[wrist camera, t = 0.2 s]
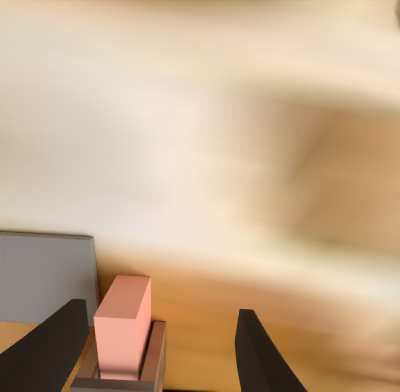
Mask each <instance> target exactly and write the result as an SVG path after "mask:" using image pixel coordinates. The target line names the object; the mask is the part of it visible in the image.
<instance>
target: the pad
mask: <svg viewBox="0 0 400 392" xmlns="http://www.w3.org/2000/svg"><path fill="white" fill-rule="evenodd" d="M71 299H86V307H87V316H88V324H89V326H90V327H95V325H94V315H95V313H96V311H97V310H98V308H99V306H100V297H99V287H98V277H97V267H96V258H95V248H94V238H93V237H85V236H68V235H51V234H34V233H17V232H0V320H1V322H18V323H36V324H41V323H42V322H44V321H45V320H46V319H47V318H49V317H50V316H51V315H52V314H54V313H55V312H56V311H57V310H59V309H60V308H61V307H62V306H64V305H65V304H66V303H67V302H69V301H70V300H71Z"/></svg>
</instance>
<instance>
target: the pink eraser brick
mask: <svg viewBox="0 0 400 392" xmlns="http://www.w3.org/2000/svg"><path fill="white" fill-rule="evenodd" d="M94 325H95V334H96V342H97V351H98V359H99V368H100V376H101V379H117V380H136V381H140V380H141V375H142V371H143V367H144V363H145V359H146V355H147V351H148V347H149V342H150V338H151V290H150V277H146V276H129V275H117V276H116V278H115V280H114V281H113V283H112V285H111V287H110V288H109V290H108V292H107V294H106V295H105V297H104V299H103V301H102V303H101V304H100V306H99V308H98V310H97V311H96V313H95V315H94Z"/></svg>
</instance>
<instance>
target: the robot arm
mask: <svg viewBox="0 0 400 392" xmlns="http://www.w3.org/2000/svg"><path fill="white" fill-rule="evenodd" d="M88 335H89V324H88V316H87V307H86V299H71V300H70V301H69V302H67V303H66V304H65V305H64V306H62V307H61V308H60V309H59V310H57V311H56V312H55V313H54V314H52V315H51V316H50V317H49V318H47V319H46V320H45V321H44V322H42V323H41V324H40V325H38V326H37V327H36V328H35V329H33V330H32V331H31V332H29V333H28V334H27V335H26V336H24V337H23V338H22V339H20V340H19V341H18V342H16V343H15V344H14V345H12V346H11V347H9V348H8V349H7V350H5V351H4V352H3V353H1V354H0V392H61V390H62V388H63V386H64V385H65V383H66V381H67V379H68V377H69V375H70V374H71V372H72V370H73V368H74V366H75V364H76V362H77V361H78V359H79V357H80V354H81V352H82V350H83V347H84V345H85V343H86V340H87V338H88ZM235 351H236V362H237V370H238V375H239V380H240V386H241V391H242V392H308V391H307V390H306V389H305V388H304V386H303V385H302V384H301V382H300V381H299V380H298V378H297V377H296V376H295V374H294V373H293V371H292V370H291V369H290V367H289V366H288V364H287V363H286V362H285V360H284V359H283V357H282V356H281V354H280V353H279V351H278V350H277V348H276V347H275V345H274V344H273V342H272V340H271V339H270V337H269V336H268V334H267V332H266V331H265V329H264V327H263V326H262V324H261V322H260V321H259V319H258V317H257V315H256V313H255V312H254V311H253V310H249V309H240V311H239V317H238V323H237V330H236V336H235Z"/></svg>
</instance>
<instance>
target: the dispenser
mask: <svg viewBox="0 0 400 392" xmlns="http://www.w3.org/2000/svg"><path fill="white" fill-rule="evenodd" d="M165 362H166V322H159V321H155V322H154V326H153V330H152V334H151V338H150V342H149V347H148V351H147V355H146V359H145V363H144V367H143V371H142V375H141V380H140V381H136V380H117V379H101V376H100V368H99V359H98V351H97V342H96V337H95V339H94V341H93V343H92V345H91V347H90V349H89V351H88V353H87V355H86V357H85V359H84V361H83V363H82V365H81V367H80V369H79V371H78V373H77V375H76V377H75V379H74V381H73V383H72V384H71V386H70V389H71V392H162V389H163V383H164V376H165Z"/></svg>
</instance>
